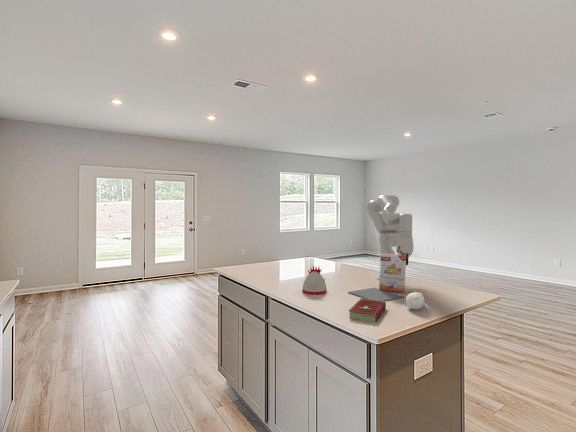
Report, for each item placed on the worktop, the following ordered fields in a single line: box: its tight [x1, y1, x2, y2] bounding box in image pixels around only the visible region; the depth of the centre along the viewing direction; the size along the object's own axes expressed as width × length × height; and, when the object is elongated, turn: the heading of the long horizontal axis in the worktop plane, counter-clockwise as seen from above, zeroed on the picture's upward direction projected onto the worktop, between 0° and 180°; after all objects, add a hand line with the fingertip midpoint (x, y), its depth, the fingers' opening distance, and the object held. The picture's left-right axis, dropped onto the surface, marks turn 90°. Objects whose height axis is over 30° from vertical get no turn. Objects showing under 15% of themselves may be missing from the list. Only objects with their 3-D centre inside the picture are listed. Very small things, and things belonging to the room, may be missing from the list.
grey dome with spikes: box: [302, 265, 328, 296], centre depth 186 cm, size 14×14×15 cm
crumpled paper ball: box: [405, 291, 430, 311], centre depth 155 cm, size 9×11×12 cm
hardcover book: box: [348, 297, 387, 323], centre depth 148 cm, size 12×21×4 cm, turn 152°
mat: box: [347, 287, 405, 302], centre depth 178 cm, size 20×22×1 cm
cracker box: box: [378, 253, 407, 293], centre depth 188 cm, size 14×6×21 cm, turn 73°
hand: (405, 264), depth 193 cm, fingers closed
